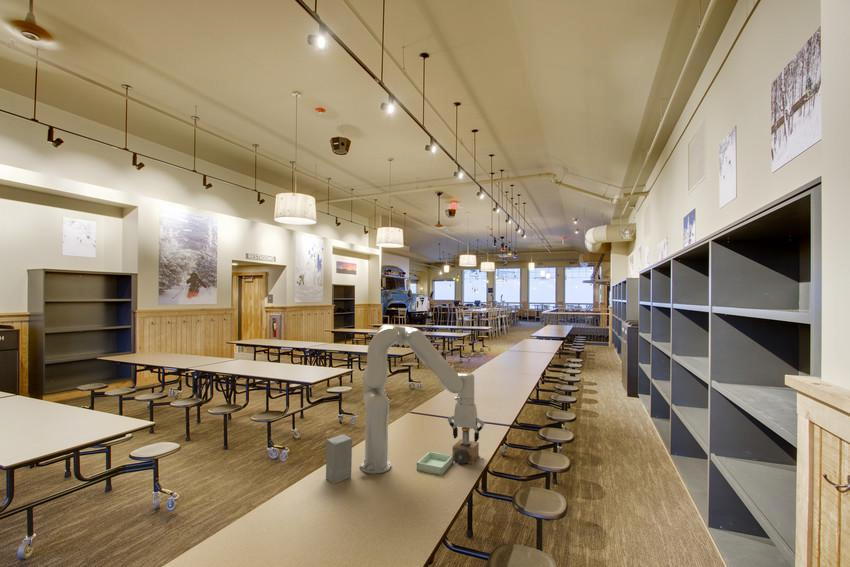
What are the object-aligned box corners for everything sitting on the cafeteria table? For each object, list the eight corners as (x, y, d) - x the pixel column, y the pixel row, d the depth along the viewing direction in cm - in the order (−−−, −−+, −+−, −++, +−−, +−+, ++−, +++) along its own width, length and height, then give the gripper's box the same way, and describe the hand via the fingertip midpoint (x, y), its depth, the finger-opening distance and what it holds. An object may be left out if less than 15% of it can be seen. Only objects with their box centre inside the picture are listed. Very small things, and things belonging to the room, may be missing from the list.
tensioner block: (470, 466, 164) (470, 452, 164) (450, 462, 167) (450, 448, 168) (478, 455, 175) (478, 442, 175) (459, 452, 179) (460, 439, 179)
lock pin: (468, 460, 170) (468, 429, 171) (460, 458, 172) (460, 428, 172) (470, 457, 173) (470, 426, 174) (463, 455, 175) (463, 425, 175)
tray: (441, 475, 155) (441, 467, 155) (416, 469, 160) (416, 462, 160) (452, 462, 167) (452, 455, 167) (429, 458, 172) (429, 451, 172)
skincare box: (342, 472, 157) (343, 433, 158) (352, 478, 152) (353, 437, 152) (324, 479, 151) (325, 438, 152) (334, 485, 146) (334, 442, 146)
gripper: (445, 400, 174) (444, 438, 173) (482, 405, 167) (482, 445, 166) (450, 396, 181) (450, 433, 180) (486, 401, 173) (486, 439, 173)
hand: (465, 439), depth 173 cm, fingers open, 9 cm apart
